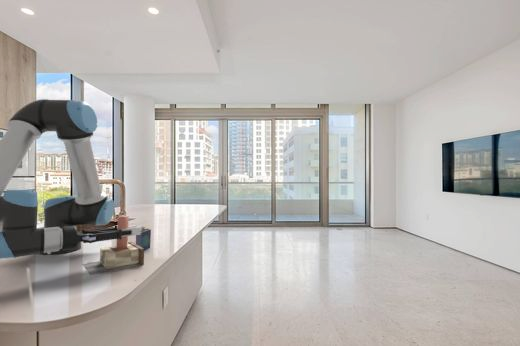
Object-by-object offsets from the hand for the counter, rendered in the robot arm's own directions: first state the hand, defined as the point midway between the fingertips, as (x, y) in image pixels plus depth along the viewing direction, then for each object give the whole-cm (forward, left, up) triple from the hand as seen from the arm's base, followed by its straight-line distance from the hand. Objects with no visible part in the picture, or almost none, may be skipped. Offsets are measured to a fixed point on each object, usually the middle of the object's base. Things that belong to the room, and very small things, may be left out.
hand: (138, 229), depth 100 cm
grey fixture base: (0, -8, -12) cm, 15 cm away
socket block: (0, -6, -11) cm, 13 cm away
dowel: (0, -6, -8) cm, 10 cm away
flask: (-14, +7, -12) cm, 20 cm away
